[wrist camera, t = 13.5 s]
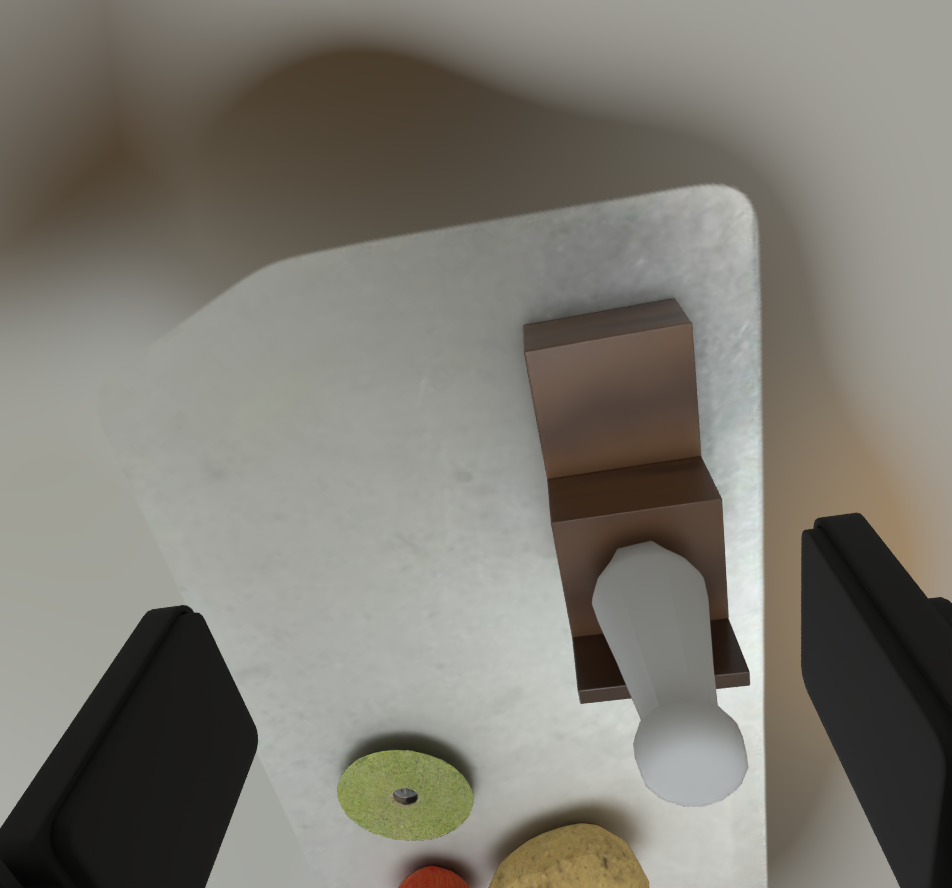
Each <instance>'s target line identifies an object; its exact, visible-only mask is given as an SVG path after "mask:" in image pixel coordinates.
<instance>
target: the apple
mask: <svg viewBox="0 0 952 888" xmlns="http://www.w3.org/2000/svg"><path fill="white" fill-rule="evenodd" d="M398 888H469V886H468V885H467V883H466V882H465V881H464V880H463V879H462V878H461V877H460V876H459V875H457V874H456V873H454V872H452V871H450V870H448V869H445V868H441V867H438V866H427V867H423V868H421V869H419V870H417V871H415V872H414V873H412V874H411V875H410V876H408V877H407V878H406V879H405V880H404V881H403V882H402V884H401V885H400V886H399V887H398Z"/></svg>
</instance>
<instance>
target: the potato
mask: <svg viewBox="0 0 952 888" xmlns="http://www.w3.org/2000/svg"><path fill="white" fill-rule="evenodd" d="M488 888H649V881H648V879H647V877H646V875H645V873H644V871H643V869H642V867H641V865H640V863H639V862H638V860H637V858H636V856H635V855H634V853H633V852H632V850H631V849H630V847H629V846H628V844H627V843H626V841H624V840H623V839H621V838H619V837H618V836H616V835H614V834H613V833H611V832H609V831H607V830H606V829H604V828H602V827H600V826H598V825H593V824H585V823H578V824H573V825H568V826H563V827H560V828H557V829H554V830H551V831H548V832H545V833H543V834H541V835H539V836H536V837H534V838H532V839H530V840H528V841H527V842H525V843H524V844H523V845H521V846H520V847H519V848H517V849H516V850H515V851H513V852H512V853H511V854H510V855H509V856H508V857H507V858H506V859H505V860H504V861H502V862H501V863H500V865H499V867H498V869H497V871H496V873H495V874H494V877H493V879H492V881H491V883H490V885H489V887H488Z"/></svg>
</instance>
